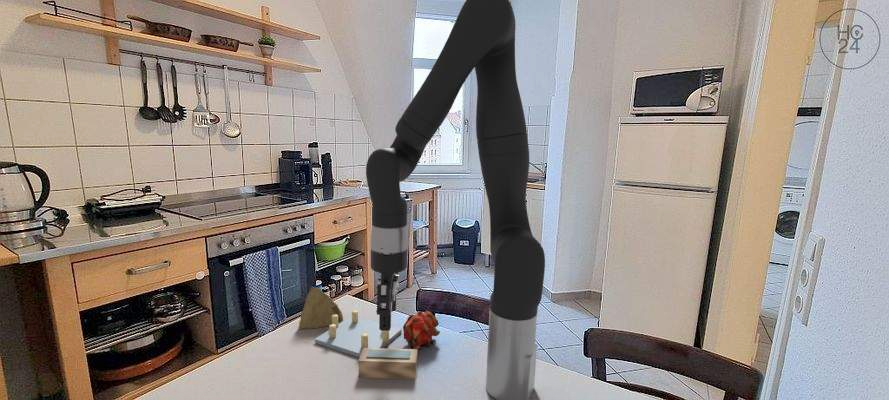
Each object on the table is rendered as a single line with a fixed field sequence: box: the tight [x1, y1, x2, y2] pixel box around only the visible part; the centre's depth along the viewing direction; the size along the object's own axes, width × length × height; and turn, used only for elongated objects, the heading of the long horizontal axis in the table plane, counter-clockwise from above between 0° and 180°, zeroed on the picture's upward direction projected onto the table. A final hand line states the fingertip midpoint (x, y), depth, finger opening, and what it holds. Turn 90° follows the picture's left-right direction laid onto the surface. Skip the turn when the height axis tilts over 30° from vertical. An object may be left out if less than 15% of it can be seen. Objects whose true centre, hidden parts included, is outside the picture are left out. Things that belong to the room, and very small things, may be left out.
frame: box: [358, 347, 419, 380], centre depth 83 cm, size 12×5×4 cm, turn 90°
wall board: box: [314, 309, 403, 358], centre depth 96 cm, size 17×14×4 cm
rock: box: [297, 286, 344, 330], centre depth 101 cm, size 11×9×10 cm
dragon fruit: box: [402, 310, 441, 350], centre depth 93 cm, size 8×8×12 cm
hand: (388, 319), depth 81 cm, fingers open, 8 cm apart
